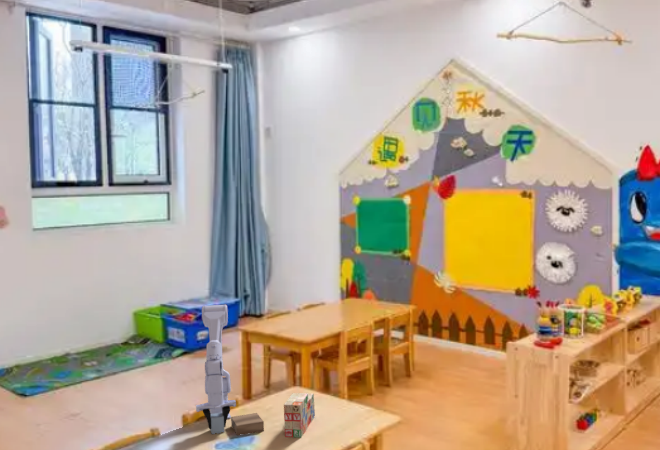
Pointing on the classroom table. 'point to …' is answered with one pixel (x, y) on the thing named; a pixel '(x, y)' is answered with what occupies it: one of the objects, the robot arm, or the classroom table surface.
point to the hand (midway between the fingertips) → (217, 427)
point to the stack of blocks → (298, 414)
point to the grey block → (217, 423)
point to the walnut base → (247, 424)
